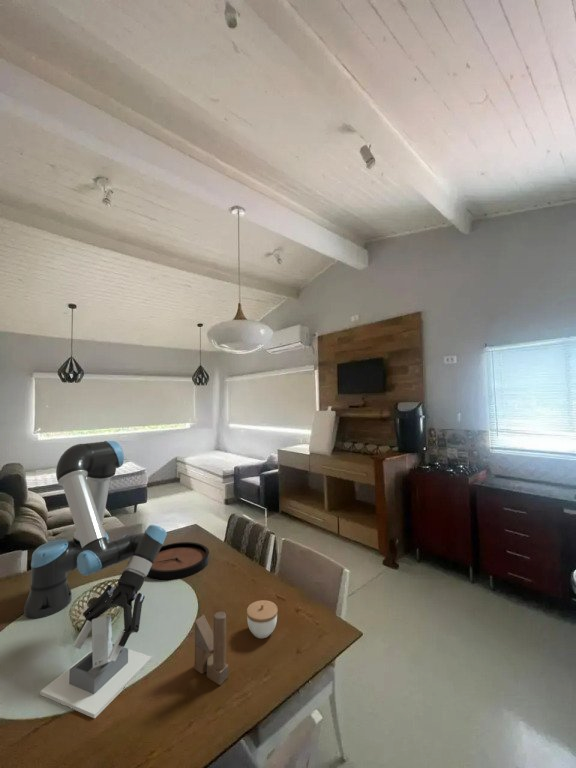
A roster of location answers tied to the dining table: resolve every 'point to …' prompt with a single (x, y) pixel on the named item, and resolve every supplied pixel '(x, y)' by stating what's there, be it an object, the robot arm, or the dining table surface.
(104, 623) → the skincare box
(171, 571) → the wall clock
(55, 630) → the dining table surface
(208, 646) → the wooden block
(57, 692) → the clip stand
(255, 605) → the lidded jar
